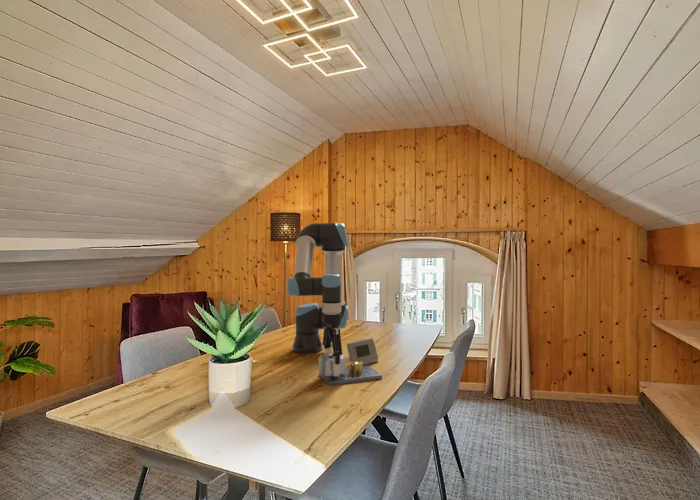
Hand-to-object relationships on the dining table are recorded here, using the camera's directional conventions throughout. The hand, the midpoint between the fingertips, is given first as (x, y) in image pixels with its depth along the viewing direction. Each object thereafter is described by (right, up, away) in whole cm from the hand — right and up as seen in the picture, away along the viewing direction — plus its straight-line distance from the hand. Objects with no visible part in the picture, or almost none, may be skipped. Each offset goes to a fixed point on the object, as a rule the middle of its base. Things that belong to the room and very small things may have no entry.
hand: (332, 368), depth 170 cm
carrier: (+7, -4, +3) cm, 9 cm away
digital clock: (+13, -4, +21) cm, 25 cm away
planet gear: (0, -1, 0) cm, 1 cm away
